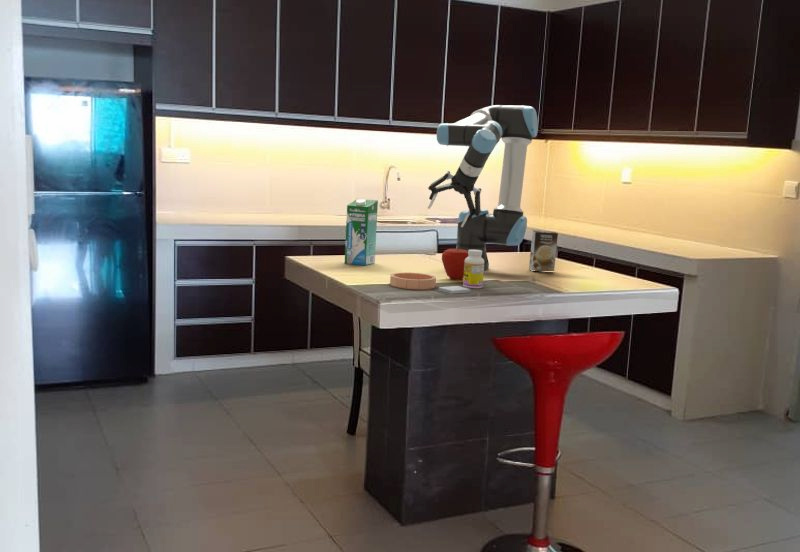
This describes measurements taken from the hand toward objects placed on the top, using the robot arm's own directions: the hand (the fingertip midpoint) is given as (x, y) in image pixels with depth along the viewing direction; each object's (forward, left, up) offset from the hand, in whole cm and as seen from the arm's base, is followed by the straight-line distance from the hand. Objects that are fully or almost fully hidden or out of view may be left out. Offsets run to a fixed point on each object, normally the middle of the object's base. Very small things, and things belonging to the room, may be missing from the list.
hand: (446, 216), depth 278 cm
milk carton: (+16, -35, -22) cm, 45 cm away
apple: (-1, +8, -22) cm, 24 cm away
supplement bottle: (+2, +23, -22) cm, 32 cm away
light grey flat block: (+14, +30, -21) cm, 40 cm away
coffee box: (-50, -4, -22) cm, 55 cm away
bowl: (+22, +17, -22) cm, 36 cm away
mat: (+14, +30, -22) cm, 40 cm away
